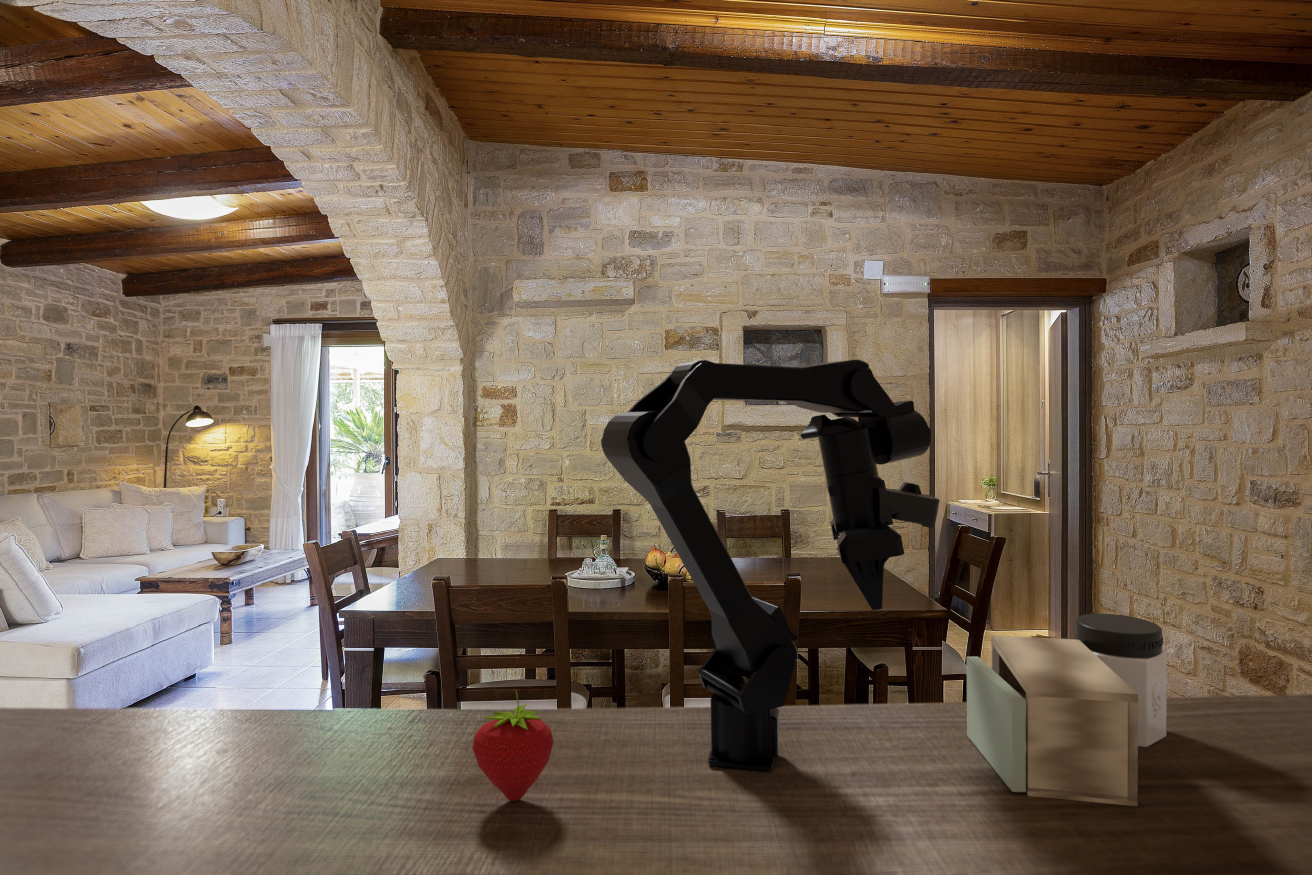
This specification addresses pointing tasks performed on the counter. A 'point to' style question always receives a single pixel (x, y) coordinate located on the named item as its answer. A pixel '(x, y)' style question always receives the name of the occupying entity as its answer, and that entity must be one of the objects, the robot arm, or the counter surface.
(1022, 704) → the door
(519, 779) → the strawberry
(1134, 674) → the jar
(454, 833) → the counter surface
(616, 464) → the robot arm
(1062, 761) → the cabinet
